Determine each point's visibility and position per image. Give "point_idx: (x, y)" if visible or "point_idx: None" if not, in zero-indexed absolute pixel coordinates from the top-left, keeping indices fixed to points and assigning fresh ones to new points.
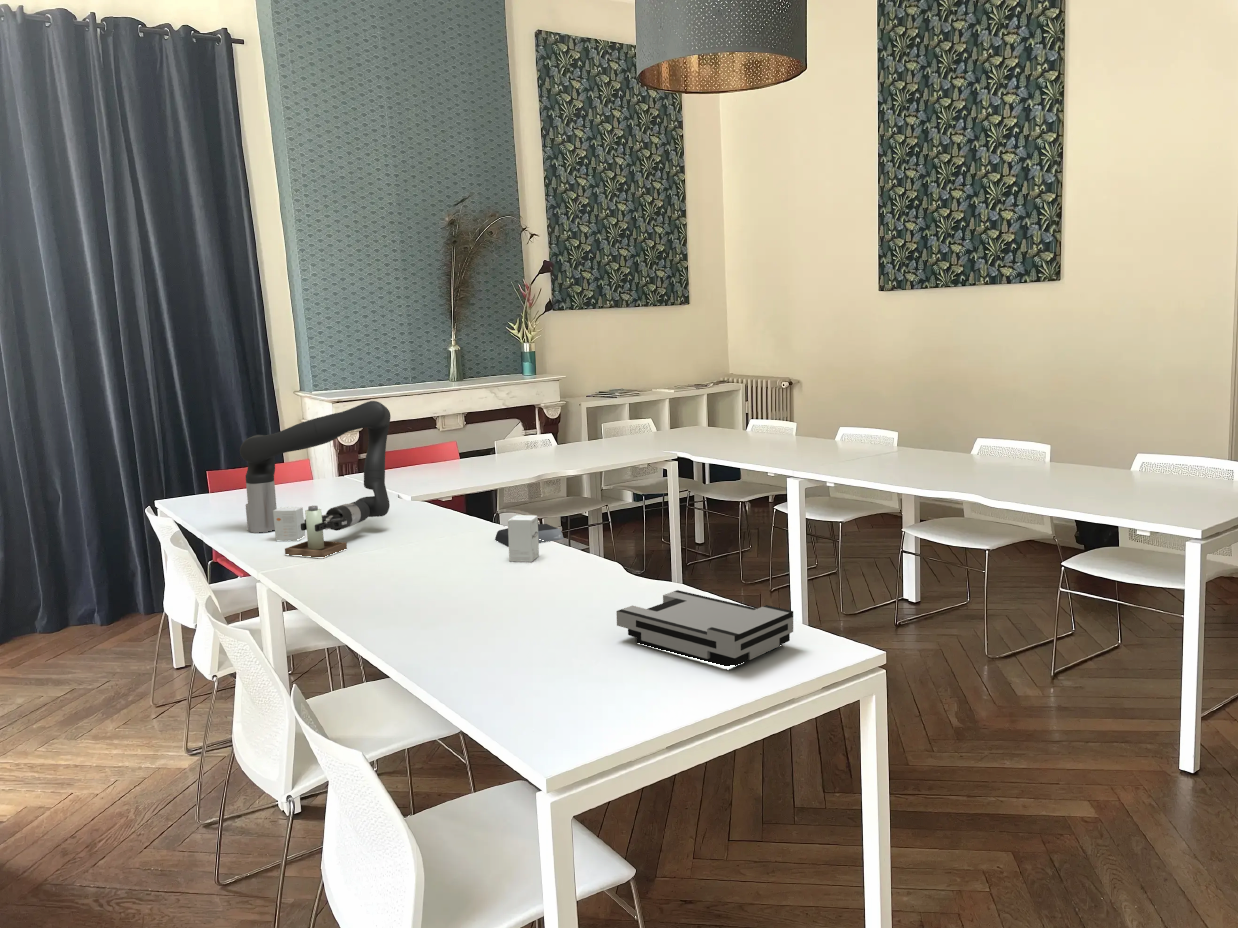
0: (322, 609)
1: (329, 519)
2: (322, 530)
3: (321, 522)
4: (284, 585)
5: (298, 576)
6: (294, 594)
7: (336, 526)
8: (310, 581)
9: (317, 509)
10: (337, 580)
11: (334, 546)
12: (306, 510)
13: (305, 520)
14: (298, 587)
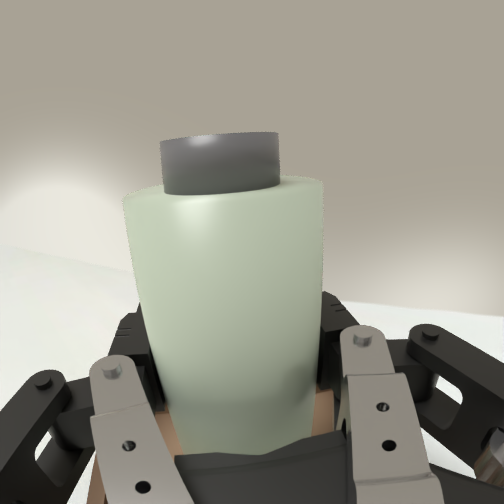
0: (14, 250)
1: (97, 414)
2: (172, 417)
3: (150, 345)
4: (97, 266)
5: (97, 292)
6: (61, 257)
7: (51, 477)
8: (57, 285)
9: (164, 182)
10: (8, 298)
11: (97, 478)
12: (291, 177)
13: (412, 328)
14: (67, 268)
